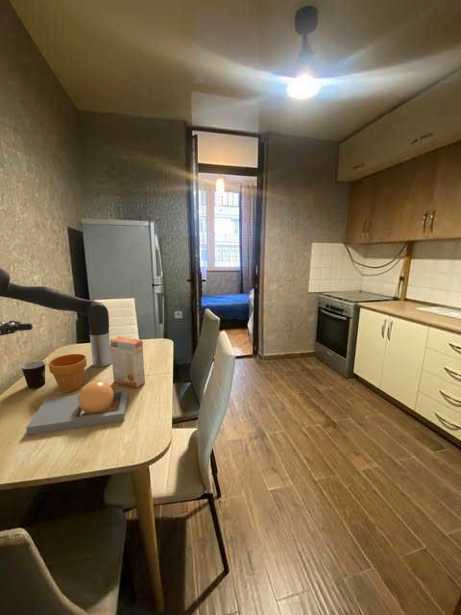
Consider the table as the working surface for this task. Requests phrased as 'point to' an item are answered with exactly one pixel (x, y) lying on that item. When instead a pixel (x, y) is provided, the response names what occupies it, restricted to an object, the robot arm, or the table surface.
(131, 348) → the cracker box
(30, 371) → the coffee mug
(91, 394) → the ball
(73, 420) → the tray
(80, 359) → the flower pot
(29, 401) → the table surface
